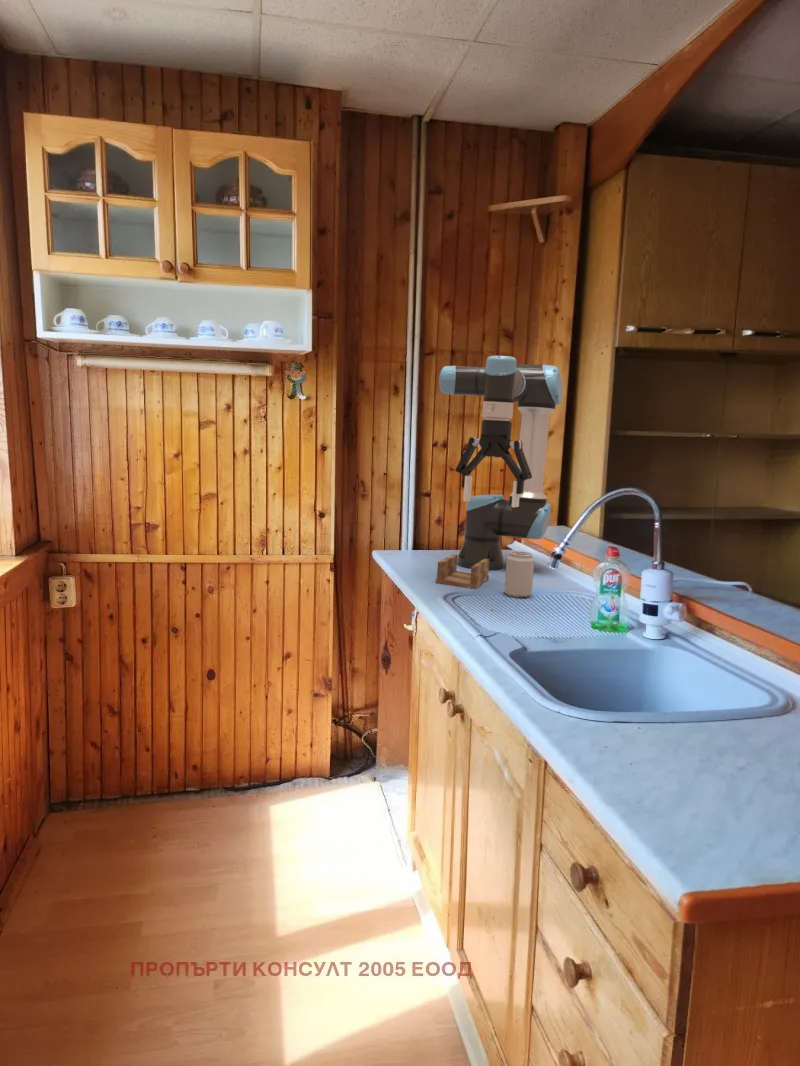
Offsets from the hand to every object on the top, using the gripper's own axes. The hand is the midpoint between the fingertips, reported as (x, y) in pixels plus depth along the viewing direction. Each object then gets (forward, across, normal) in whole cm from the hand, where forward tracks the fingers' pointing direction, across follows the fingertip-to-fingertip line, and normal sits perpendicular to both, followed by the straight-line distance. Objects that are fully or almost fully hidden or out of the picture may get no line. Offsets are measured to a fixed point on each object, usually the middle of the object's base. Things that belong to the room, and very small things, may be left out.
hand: (490, 503), depth 184 cm
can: (+26, +3, +15) cm, 31 cm away
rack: (+26, -16, +18) cm, 36 cm away
